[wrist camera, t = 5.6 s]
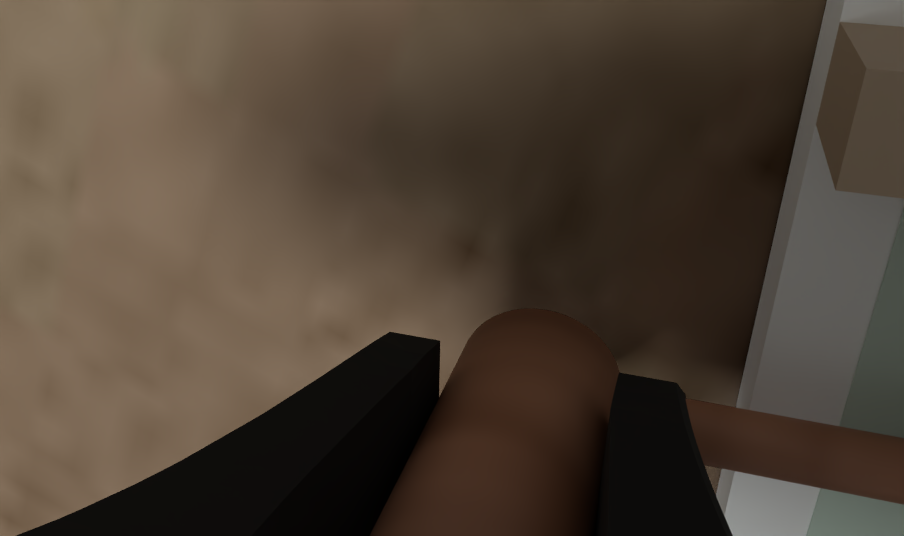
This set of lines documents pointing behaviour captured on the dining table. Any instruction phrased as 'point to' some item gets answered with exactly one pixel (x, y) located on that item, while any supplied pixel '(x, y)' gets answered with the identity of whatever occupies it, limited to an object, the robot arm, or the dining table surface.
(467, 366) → the wooden mallet
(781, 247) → the wooden frame
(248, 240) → the dining table surface
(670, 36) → the dining table surface
